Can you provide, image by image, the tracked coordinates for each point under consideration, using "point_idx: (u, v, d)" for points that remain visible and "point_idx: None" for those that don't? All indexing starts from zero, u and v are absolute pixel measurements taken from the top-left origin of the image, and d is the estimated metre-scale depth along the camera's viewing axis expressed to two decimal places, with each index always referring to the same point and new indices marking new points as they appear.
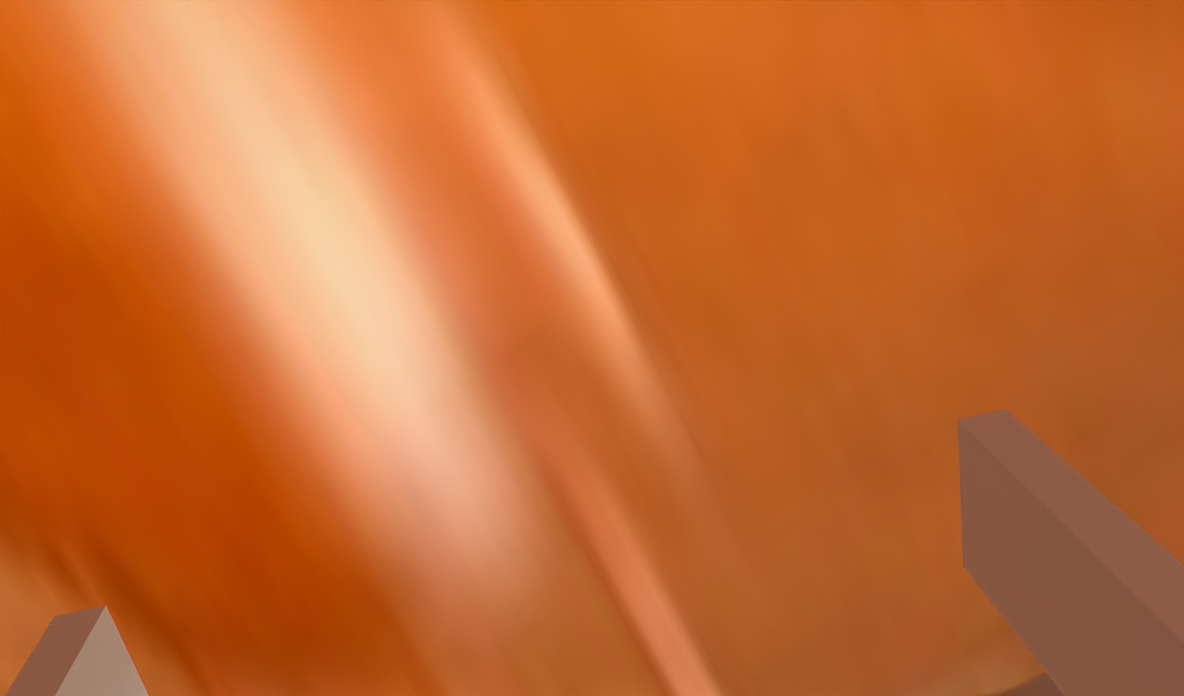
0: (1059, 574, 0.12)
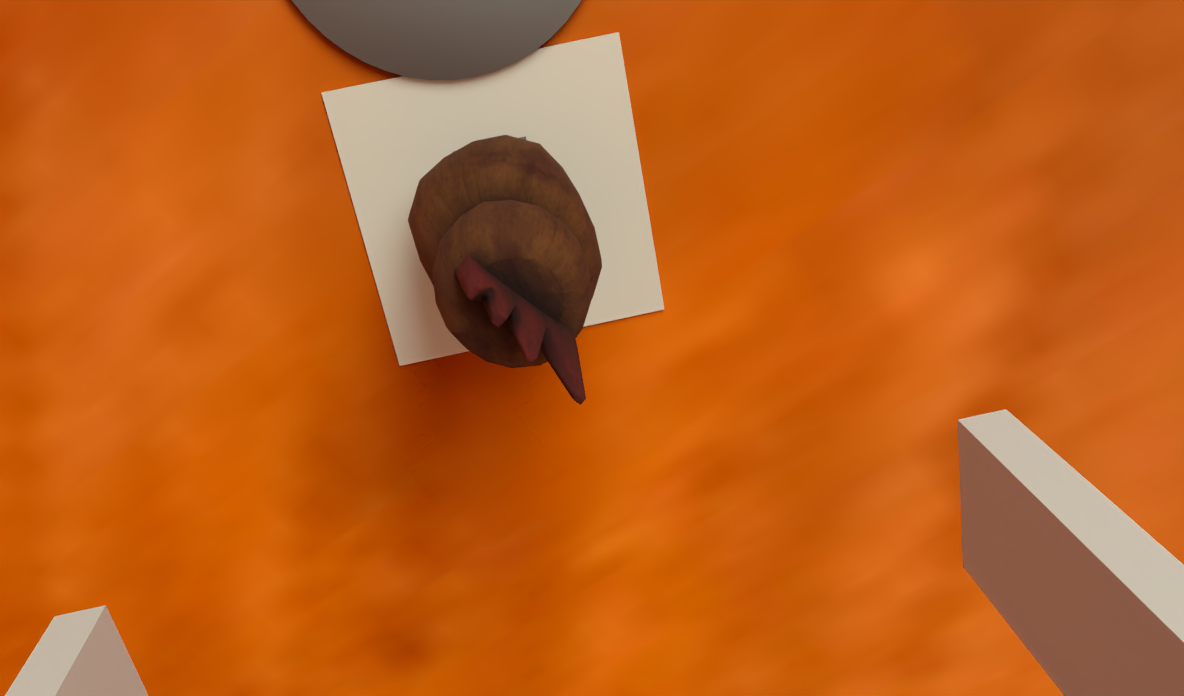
0: (1059, 573, 0.12)
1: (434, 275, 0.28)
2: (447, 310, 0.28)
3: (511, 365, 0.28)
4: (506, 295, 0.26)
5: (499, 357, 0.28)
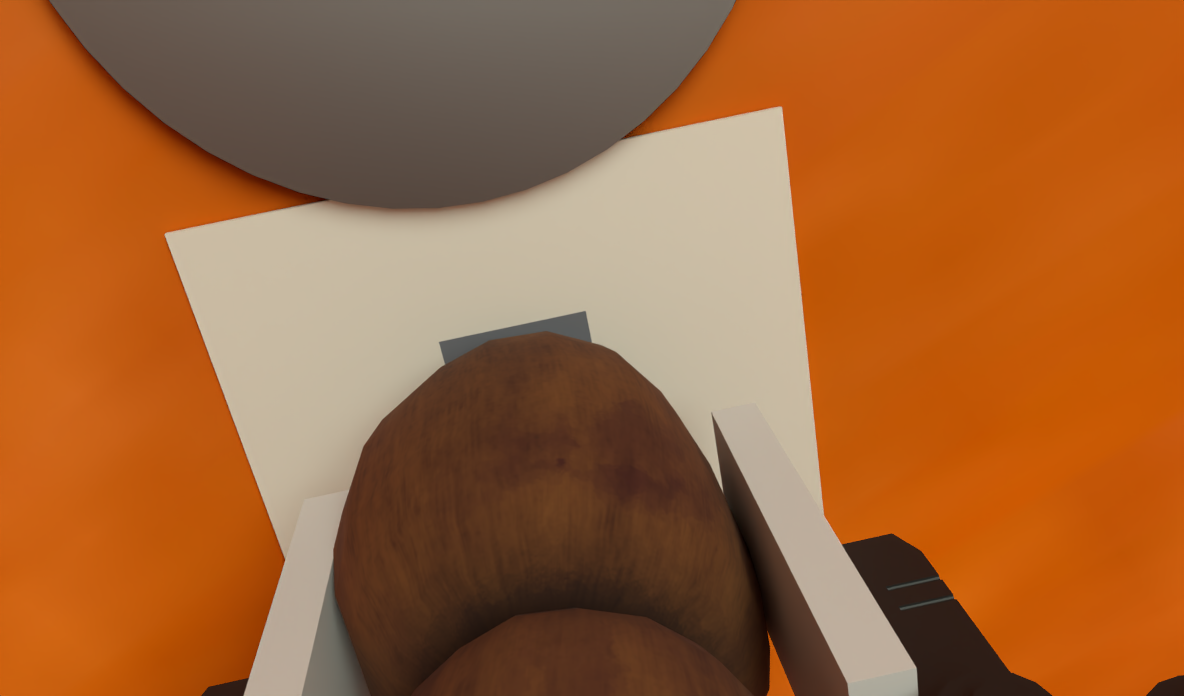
0: (762, 546, 0.14)
1: None
2: None
3: None
4: None
5: None
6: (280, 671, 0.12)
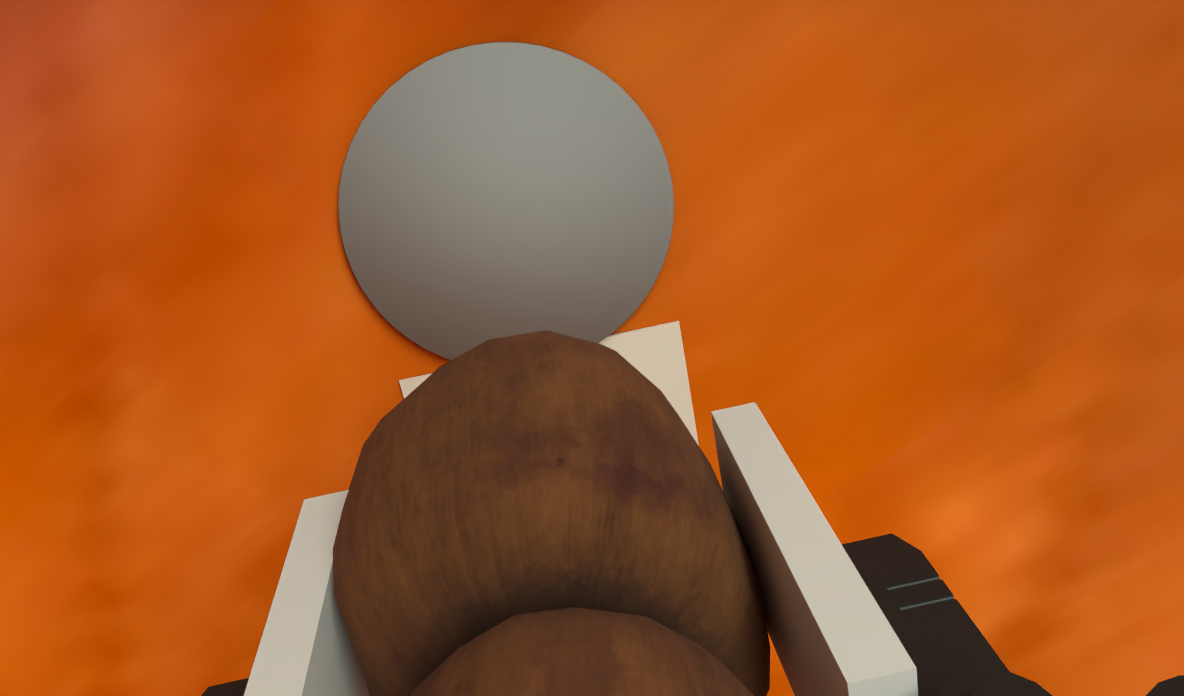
0: (761, 546, 0.14)
1: None
2: None
3: None
4: None
5: None
6: (280, 671, 0.12)
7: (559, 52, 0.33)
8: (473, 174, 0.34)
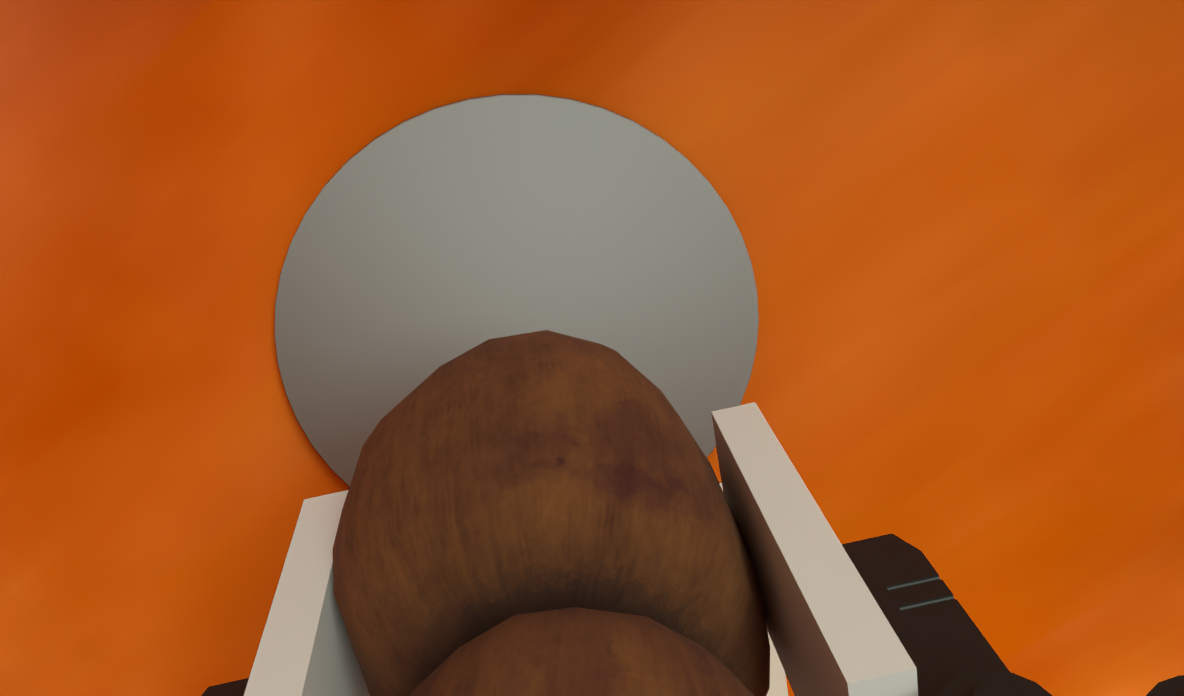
0: (761, 546, 0.14)
1: None
2: None
3: None
4: None
5: None
6: (280, 671, 0.12)
7: (598, 109, 0.22)
8: (471, 284, 0.24)
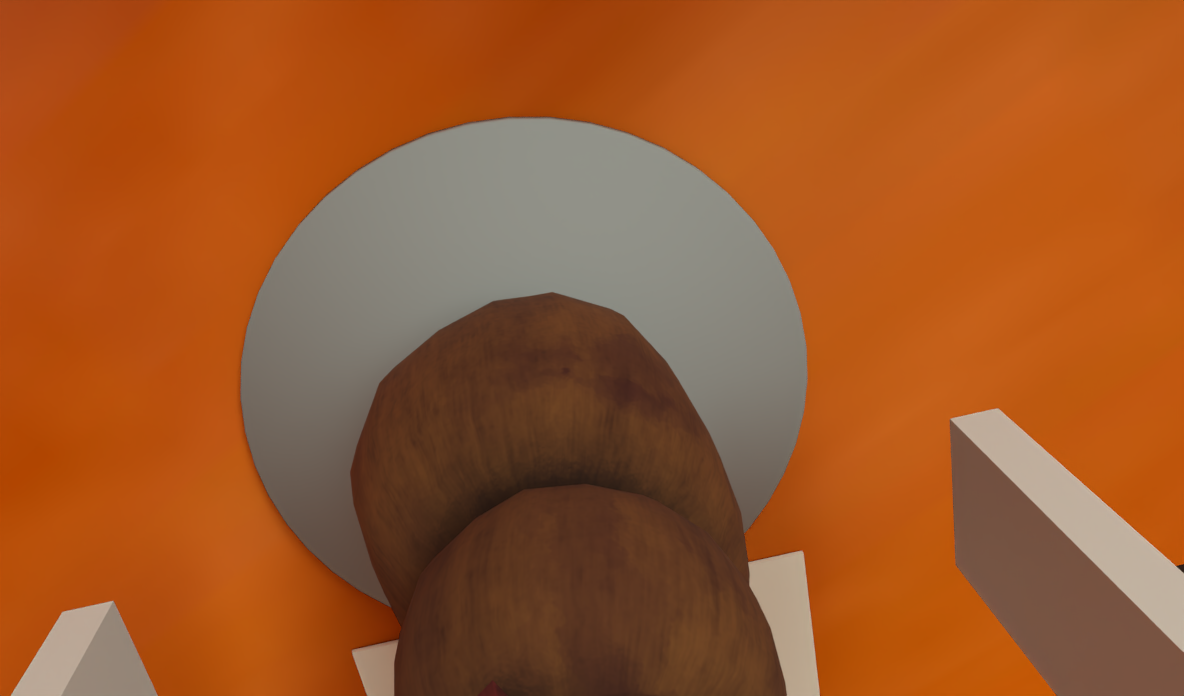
0: (1049, 572, 0.12)
1: None
2: None
3: None
4: None
5: None
6: None
7: (623, 135, 0.19)
8: None
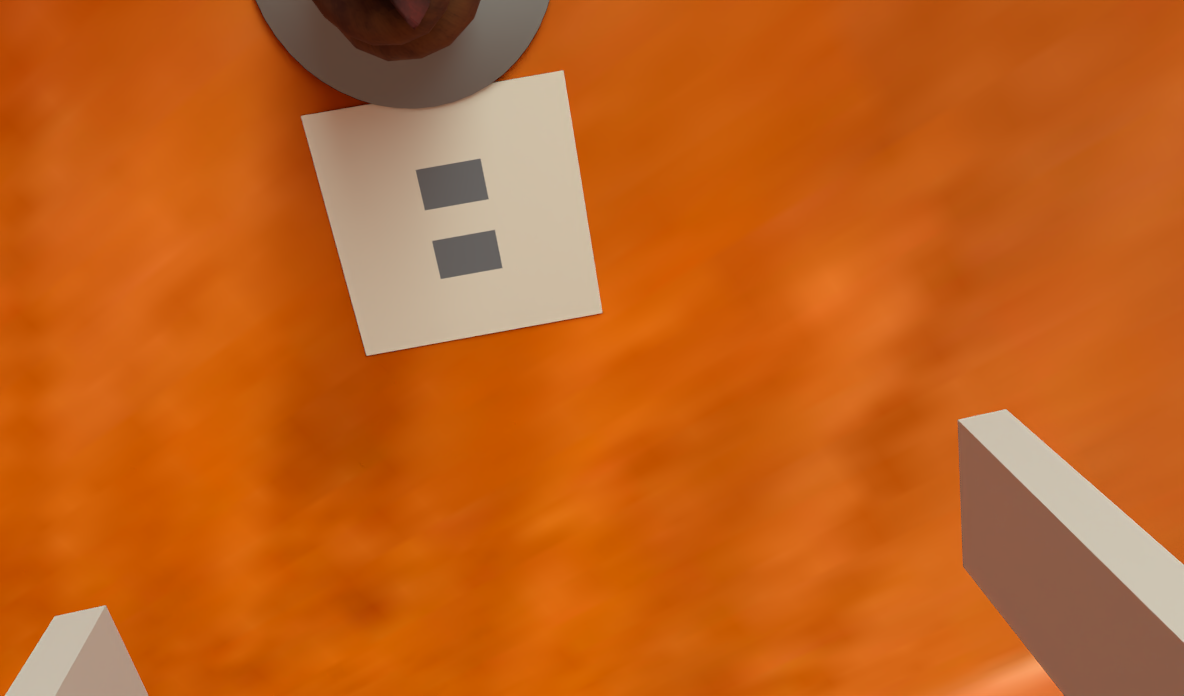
0: (1059, 574, 0.12)
1: None
2: None
3: (368, 35, 0.29)
4: None
5: (355, 22, 0.28)
6: None
7: None
8: None
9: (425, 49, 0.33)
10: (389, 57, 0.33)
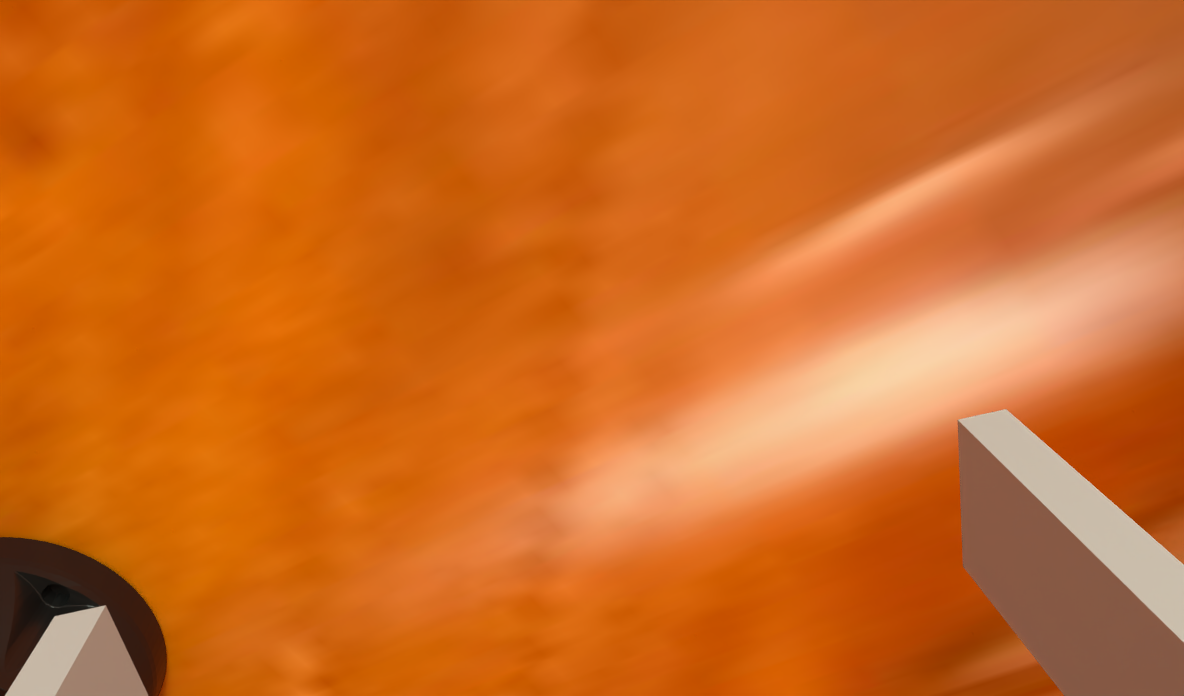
0: (1059, 574, 0.12)
1: None
2: None
3: None
4: None
5: None
6: None
7: None
8: None
9: None
10: None
